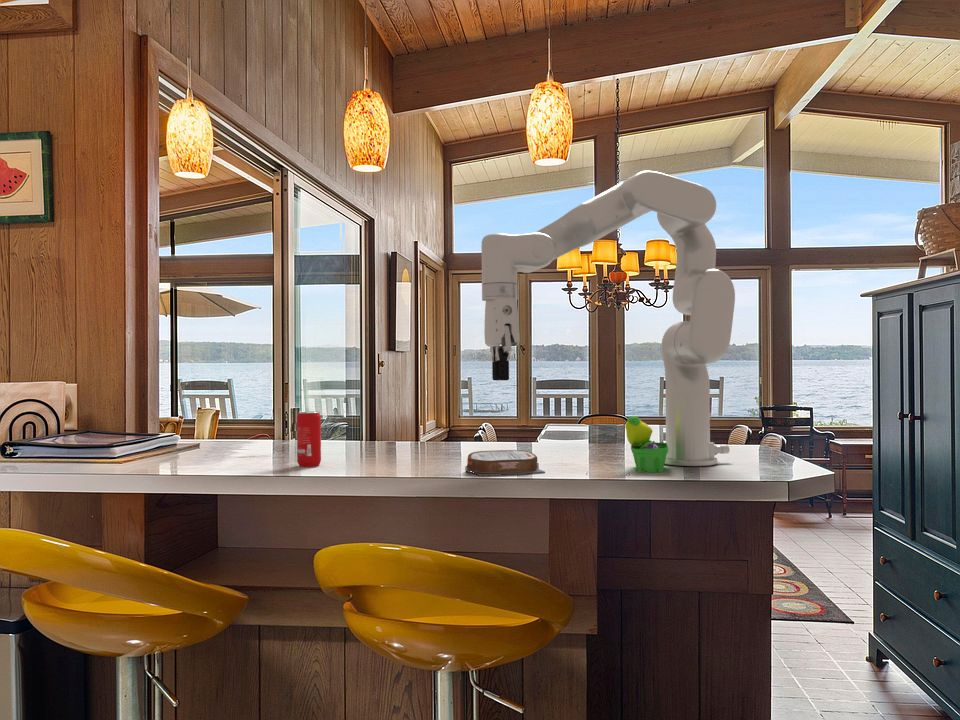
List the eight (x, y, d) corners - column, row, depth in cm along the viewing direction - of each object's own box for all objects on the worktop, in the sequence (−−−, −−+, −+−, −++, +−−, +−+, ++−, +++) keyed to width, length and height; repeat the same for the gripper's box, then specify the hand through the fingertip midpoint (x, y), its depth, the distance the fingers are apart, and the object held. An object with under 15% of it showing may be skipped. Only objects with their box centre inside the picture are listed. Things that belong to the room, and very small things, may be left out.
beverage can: (293, 465, 172) (293, 412, 172) (315, 463, 175) (314, 411, 175) (303, 468, 168) (302, 413, 168) (325, 466, 171) (324, 412, 171)
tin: (462, 463, 163) (472, 477, 155) (463, 448, 162) (473, 462, 154) (529, 460, 167) (543, 474, 159) (530, 446, 166) (544, 459, 158)
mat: (537, 468, 166) (537, 462, 166) (549, 472, 159) (549, 466, 159) (465, 471, 161) (465, 466, 161) (474, 476, 154) (474, 470, 154)
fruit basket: (669, 473, 157) (668, 418, 157) (625, 472, 159) (624, 417, 159) (667, 466, 168) (666, 414, 168) (625, 465, 170) (625, 414, 170)
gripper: (528, 290, 157) (529, 380, 157) (505, 296, 171) (506, 379, 171) (493, 289, 155) (494, 381, 155) (472, 296, 169) (473, 379, 169)
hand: (500, 380), depth 163 cm, fingers closed
